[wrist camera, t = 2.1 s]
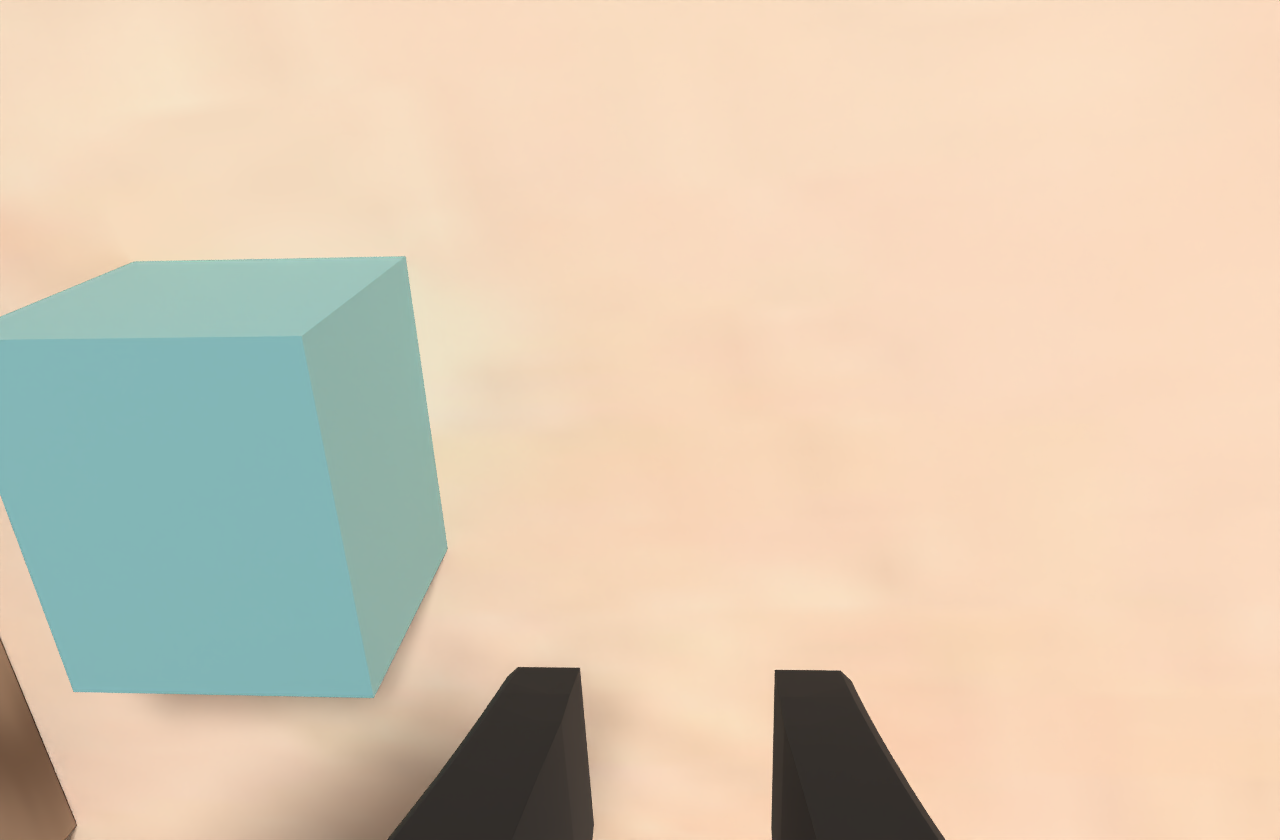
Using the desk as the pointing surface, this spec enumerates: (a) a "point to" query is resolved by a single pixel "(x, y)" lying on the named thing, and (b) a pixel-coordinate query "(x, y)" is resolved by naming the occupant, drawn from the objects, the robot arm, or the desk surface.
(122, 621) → the teal block
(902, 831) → the robot arm
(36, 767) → the walnut board
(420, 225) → the desk surface
